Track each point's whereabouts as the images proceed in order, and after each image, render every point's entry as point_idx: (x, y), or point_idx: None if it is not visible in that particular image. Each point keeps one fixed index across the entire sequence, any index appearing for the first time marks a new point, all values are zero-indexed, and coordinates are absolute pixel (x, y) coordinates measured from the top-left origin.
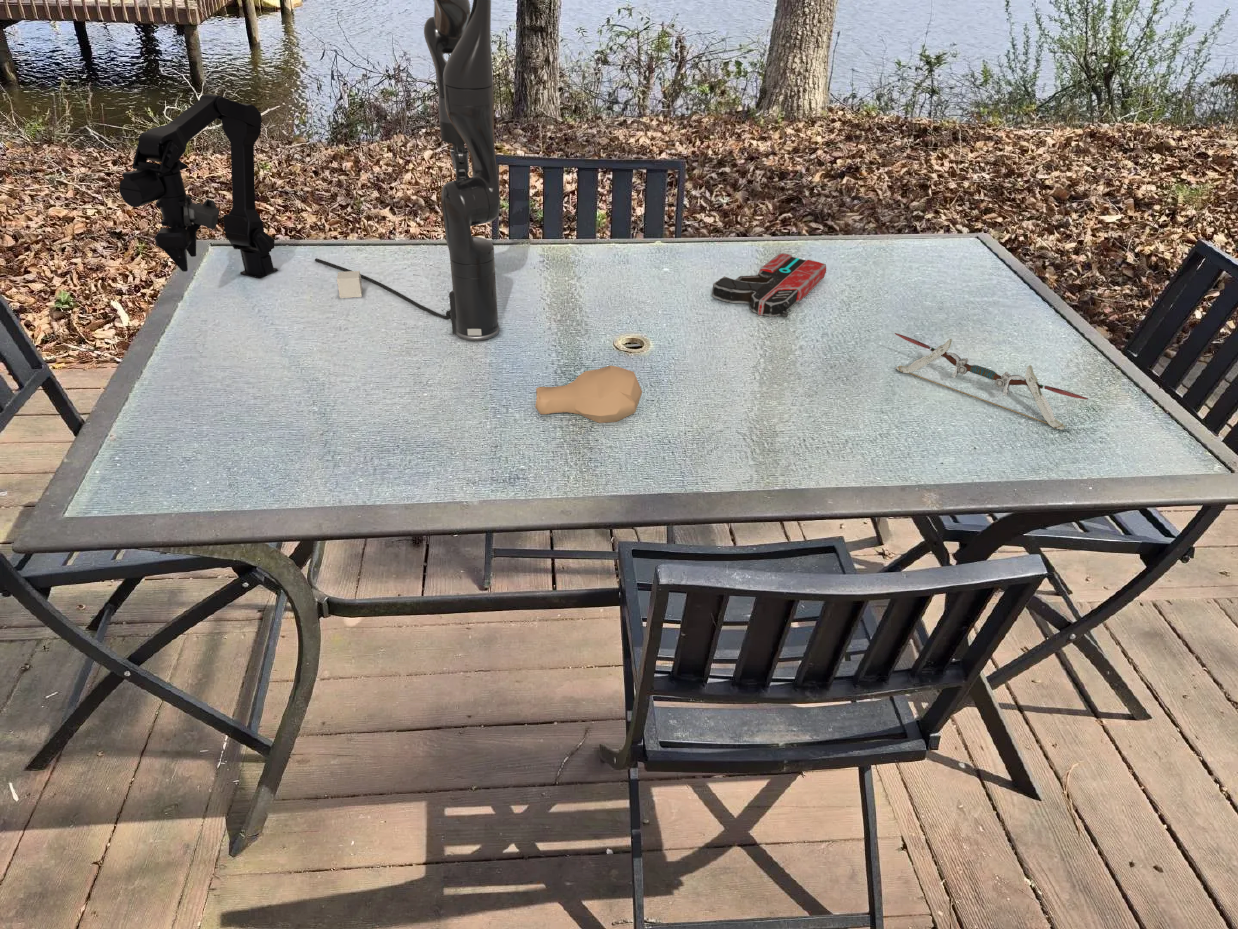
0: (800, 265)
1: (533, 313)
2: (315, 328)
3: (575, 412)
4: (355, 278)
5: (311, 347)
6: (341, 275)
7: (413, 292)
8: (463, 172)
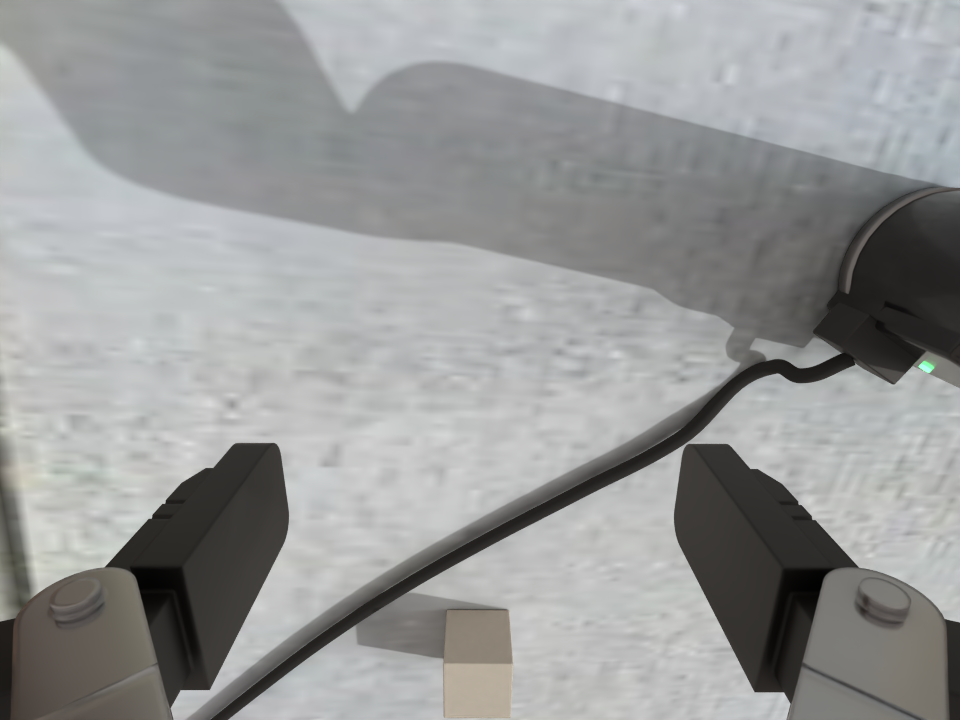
0: None
1: (825, 8)
2: (706, 700)
3: None
4: (512, 671)
5: None
6: (479, 708)
7: (496, 468)
8: (199, 573)
